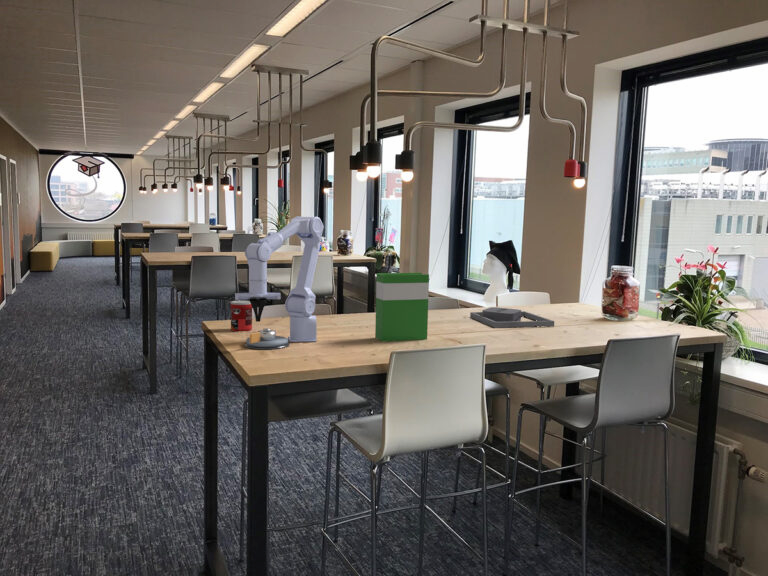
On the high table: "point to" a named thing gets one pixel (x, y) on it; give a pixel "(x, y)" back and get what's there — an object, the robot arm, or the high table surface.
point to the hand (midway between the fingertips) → (257, 321)
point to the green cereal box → (401, 306)
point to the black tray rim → (540, 321)
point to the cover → (267, 335)
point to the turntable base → (266, 347)
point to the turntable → (256, 342)
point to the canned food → (241, 316)
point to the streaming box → (502, 314)
